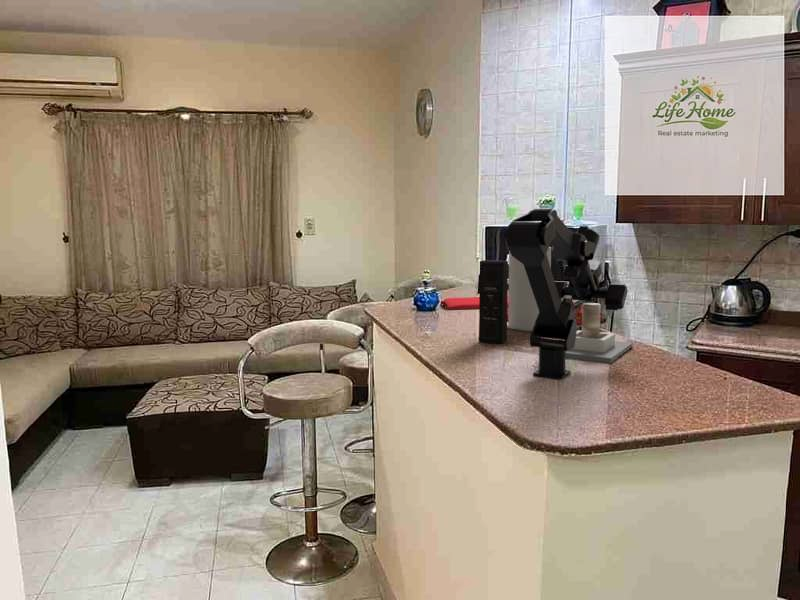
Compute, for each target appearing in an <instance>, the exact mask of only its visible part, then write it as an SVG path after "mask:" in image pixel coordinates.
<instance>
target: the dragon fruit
mask: <svg viewBox="0 0 800 600" xmlns="http://www.w3.org/2000/svg"><path fill="white" fill-rule="evenodd" d="M575 309H576V313H575V315H574V318H575V320H576V321H577V327H582V304H580V305H579V306H578V307H577V308H575ZM604 317H605V316H604V314H603V312H602V311H601V310H600V325H602V324H606V322H607V318H604Z"/></svg>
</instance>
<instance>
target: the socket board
mask: <svg viewBox="0 0 800 600" xmlns="http://www.w3.org/2000/svg"><path fill="white" fill-rule="evenodd" d="M633 345H634V344H633V342H627V341H616V333H611V332H601V331H600V339H595V338H585V337H582V330H579V329H577V333H576V340H575V347H574V348H572V349H570V350H568V351H566V359H574V360H582V361H590V362H598V363H605V362H606V363H608V364H612V363H614V362H615V361H616V360H617V359H619V358H620V357H621V356H623V355H624V354H625V353H624V352H625V351H627V350H628V349H629V348H630V347H632V346H633ZM633 347H634V346H633ZM633 347H632V348H633ZM628 351H629V350H628ZM628 351H627V352H628ZM623 353H624V354H623ZM622 354H623V355H622ZM620 355H621V356H620ZM619 356H620V357H619ZM618 357H619V358H618Z"/></svg>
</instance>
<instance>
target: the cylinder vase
mask: <svg viewBox="0 0 800 600" xmlns="http://www.w3.org/2000/svg"><path fill="white" fill-rule="evenodd" d="M546 254H547V258H548V261H549V265H550V268H552V267H551V266H552V250H551V246H549V248H548V250H547V253H546ZM508 296H509V308H508V309H509V314H508V322H507V327H508V328H510V329H511V330H513V331H520V332H532V330H533V328H534V325H535V321H536V318H537V316H538V314H539V309H538V307H537V304H536V301H535V298H534V295H533V292H532V289H531V286H530V283H529V280H528V277H527V274H526V271H525V268H524V265H523V264H522V263H521V262H520V261H518V260H517V259H515V258H514V257H513V256H512V255H511V253H510V251H509V250H508Z"/></svg>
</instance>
